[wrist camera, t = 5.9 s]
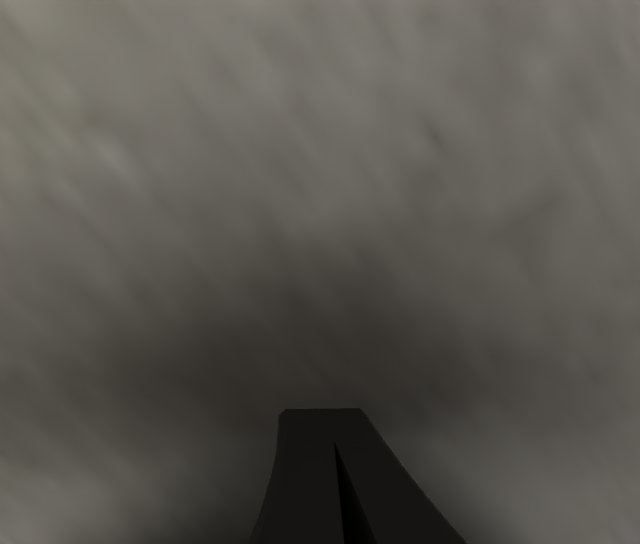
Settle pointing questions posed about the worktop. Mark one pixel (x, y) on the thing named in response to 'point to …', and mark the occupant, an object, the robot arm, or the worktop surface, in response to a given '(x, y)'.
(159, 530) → the worktop surface
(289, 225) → the worktop surface
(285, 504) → the robot arm
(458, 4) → the worktop surface
